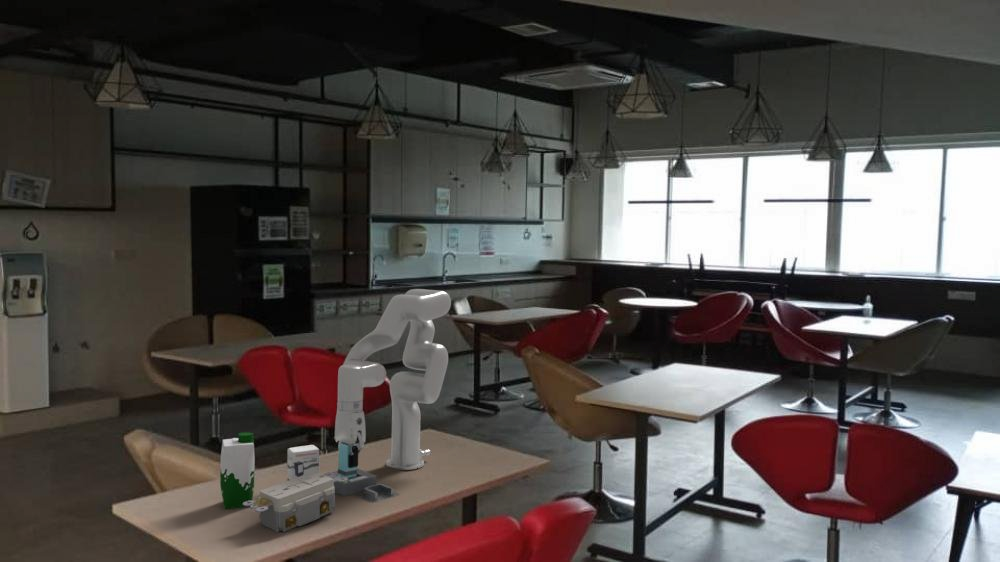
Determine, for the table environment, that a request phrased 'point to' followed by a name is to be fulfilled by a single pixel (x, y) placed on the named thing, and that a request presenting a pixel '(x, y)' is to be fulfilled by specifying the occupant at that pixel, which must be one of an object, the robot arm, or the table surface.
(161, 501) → the table surface
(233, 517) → the table surface
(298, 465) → the ink box
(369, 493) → the holster
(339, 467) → the plug
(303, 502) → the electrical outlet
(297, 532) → the table surface
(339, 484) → the port
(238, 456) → the milk carton
